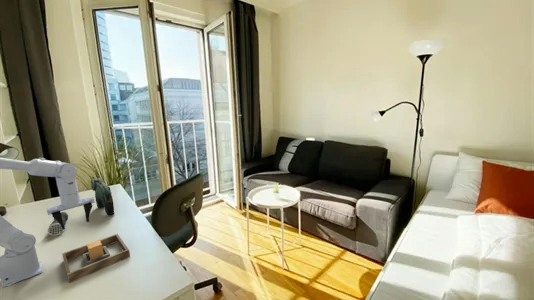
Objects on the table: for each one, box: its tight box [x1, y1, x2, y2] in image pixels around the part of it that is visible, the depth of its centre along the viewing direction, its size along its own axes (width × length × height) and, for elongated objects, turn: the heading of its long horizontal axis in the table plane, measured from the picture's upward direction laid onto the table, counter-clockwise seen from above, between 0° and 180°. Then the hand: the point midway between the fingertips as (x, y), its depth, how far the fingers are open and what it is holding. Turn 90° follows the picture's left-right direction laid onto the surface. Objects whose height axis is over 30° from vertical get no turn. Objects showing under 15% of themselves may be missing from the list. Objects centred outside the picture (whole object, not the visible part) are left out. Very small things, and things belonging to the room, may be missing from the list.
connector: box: [86, 239, 105, 261], centre depth 90 cm, size 4×4×6 cm
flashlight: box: [47, 211, 69, 236], centre depth 114 cm, size 15×5×5 cm, turn 32°
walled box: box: [62, 233, 131, 283], centre depth 91 cm, size 18×16×3 cm
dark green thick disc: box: [90, 174, 115, 217], centre depth 129 cm, size 20×6×20 cm, turn 48°
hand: (76, 224), depth 97 cm, fingers open, 7 cm apart
